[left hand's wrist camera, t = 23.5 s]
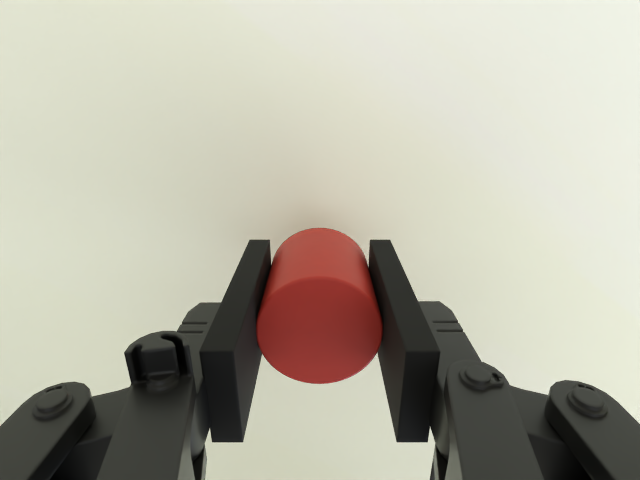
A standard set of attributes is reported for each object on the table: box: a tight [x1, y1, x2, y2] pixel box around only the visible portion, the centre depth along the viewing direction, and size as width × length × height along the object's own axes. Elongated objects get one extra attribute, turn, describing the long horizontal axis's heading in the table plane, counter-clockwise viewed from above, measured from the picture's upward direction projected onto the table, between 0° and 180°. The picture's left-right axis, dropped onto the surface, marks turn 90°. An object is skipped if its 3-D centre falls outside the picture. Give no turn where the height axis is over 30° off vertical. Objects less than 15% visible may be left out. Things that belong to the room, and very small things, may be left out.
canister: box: [256, 228, 383, 384], centre depth 13 cm, size 4×4×4 cm
